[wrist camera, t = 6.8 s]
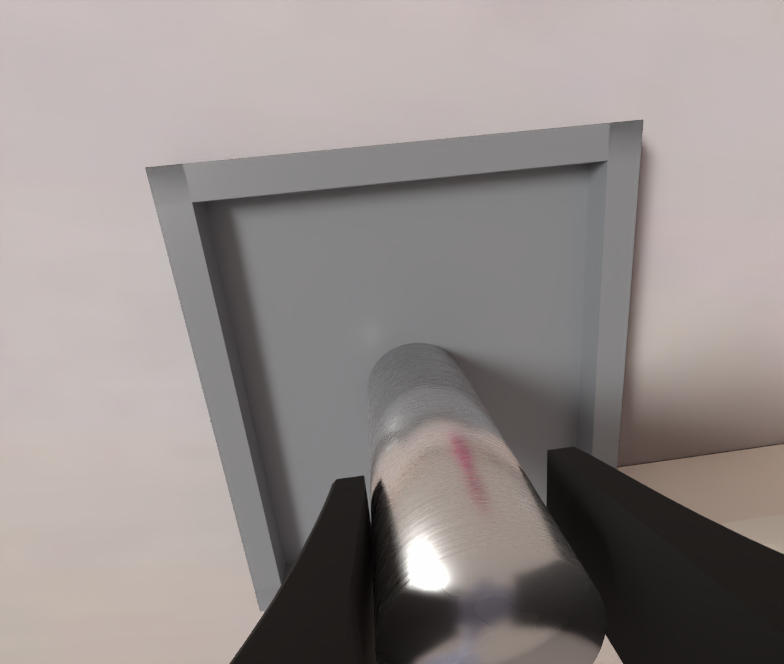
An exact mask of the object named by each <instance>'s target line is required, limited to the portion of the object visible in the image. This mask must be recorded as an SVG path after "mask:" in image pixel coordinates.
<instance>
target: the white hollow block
mask: <svg viewBox="0 0 784 664" xmlns="http://www.w3.org/2000/svg"><path fill="white" fill-rule="evenodd" d="M617 470H619V471H621V472H622V473H624V474H626V475H628V476H630V477H631V478H633V479H635V480H637V481H638V482H640V483H642V484H644V485H646V486H648V487H649V488H651V489H653V490H655V491H657V492H659V493H660V494H662V495H664V496H666V497H668V498H670V499H672V500H673V501H675V502H677V503H679V504H681V505H683V506H685V507H687V508H689V509H691V510H692V511H694V512H696V513H698V514H700V515H702V516H704V517H706V518H708V519H710V520H712V521H714V522H716V523H718V524H720V525H722V526H725V527H727V528H729V529H731V530H733V531H735V532H737V533H739V534H741V535H743V536H745V537H747V538H749V539H751V540H754V541H756V542H758V543H760V544H762V545H764V546H767V547H769V548H771V549H773V550H776V551H778V552H780V553H783V554H784V444H781V445H774V446H767V447H760V448H753V449H746V450H739V451H732V452H725V453H718V454H711V455H703V456H696V457H689V458H682V459H675V460H668V461H661V462H654V463H647V464H640V465H633V466H626V467H619V468H617Z"/></svg>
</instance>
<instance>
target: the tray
mask: <svg viewBox="0 0 784 664" xmlns="http://www.w3.org/2000/svg"><path fill="white" fill-rule="evenodd" d="M642 130H643V120H634V121H624V122H614V123H603V124H593V125H582V126H572V127H562V128H551V129H541V130H530V131H520V132H510V133H499V134H489V135H478V136H468V137H457V138H447V139H437V140H426V141H416V142H405V143H395V144H385V145H374V146H364V147H353V148H343V149H333V150H322V151H312V152H301V153H291V154H281V155H270V156H260V157H249V158H239V159H229V160H218V161H208V162H197V163H187V164H177V165H166V166H156V167H145V169H146V172H147V176H148V180H149V184H150V188H151V192H152V196H153V199H154V203H155V207H156V211H157V215H158V219H159V223H160V226H161V230H162V234H163V238H164V242H165V246H166V250H167V253H168V257H169V261H170V265H171V269H172V273H173V277H174V280H175V284H176V288H177V292H178V296H179V300H180V304H181V308H182V311H183V315H184V319H185V323H186V327H187V331H188V335H189V338H190V342H191V346H192V350H193V354H194V358H195V362H196V365H197V369H198V373H199V377H200V381H201V385H202V389H203V392H204V396H205V400H206V404H207V408H208V412H209V416H210V420H211V423H212V427H213V431H214V435H215V439H216V443H217V447H218V450H219V454H220V458H221V462H222V466H223V470H224V474H225V477H226V481H227V485H228V489H229V493H230V497H231V501H232V504H233V508H234V512H235V516H236V520H237V524H238V528H239V532H240V535H241V539H242V543H243V547H244V551H245V555H246V559H247V562H248V566H249V570H250V574H251V578H252V582H253V586H254V589H255V593H256V597H257V601H258V605H259V609H260V611H266V610H267V608H268V606H269V605H270V603H271V602H272V600H273V598H274V597H275V595H276V593H277V592H278V590H279V588H280V587H281V585H282V583H283V582H284V580H285V578H286V577H287V575H288V573H289V572H290V570H291V568H292V566H293V565H294V563H295V561H296V559H297V558H298V556H299V554H300V552H301V550H302V548H303V546H304V544H305V542H306V540H307V538H308V537H309V535H310V533H311V531H312V529H313V527H314V525H315V523H316V521H317V519H318V516H319V514H320V512H321V510H322V508H323V506H324V503H325V501H326V498H327V496H328V494H329V491H330V488H331V486H332V484H333V483H334V481H335V480H336V479H341V478H348V477H356V476H363V475H364V477H365V484H366V492H367V499H368V506H369V513H370V520H371V501H370V469H369V438H368V406H367V384H368V379H369V376H370V373H371V371H372V369H373V367H374V366H375V364H376V363H377V362H378V360H379V359H380V358H381V357H382V356H383V355H385V354H386V353H387V352H389V351H390V350H392V349H394V348H396V347H398V346H401V345H404V344H409V343H426V344H431V345H434V346H437V347H439V348H441V349H443V350H445V351H446V352H447V353H449V354H450V355H451V356H452V357H453V358H454V359H455V361H456V362H457V364H458V365H459V367H460V368H461V370H462V372H463V373H464V375H465V376H466V378H467V380H468V381H469V383H470V385H471V386H472V388H473V389H474V391H475V393H476V394H477V396H478V398H479V399H480V401H481V402H482V404H483V406H484V407H485V409H486V410H487V412H488V414H489V415H490V417H491V419H492V420H493V422H494V423H495V425H496V427H497V428H498V430H499V432H500V433H501V435H502V436H503V438H504V440H505V441H506V443H507V444H508V446H509V448H510V449H511V451H512V453H513V454H514V456H515V457H516V459H517V461H518V462H519V464H520V466H521V467H522V469H523V470H524V472H525V474H526V475H527V477H528V479H529V480H530V482H531V483H532V485H533V487H534V488H535V490H536V491H537V493H538V495H539V496H540V498H541V500H542V501H543V503H544V504H545V506H546V502H547V450H551V449H559V448H566V447H573V446H574V447H576V448H578V449H580V450H582V451H584V452H586V453H588V454H590V455H592V456H594V457H595V458H597V459H599V460H601V461H603V462H605V463H606V464H608V465H610V466H612V467H613V468H615V469H617V464H618V451H619V437H620V424H621V411H622V397H623V384H624V371H625V357H626V344H627V331H628V317H629V304H630V291H631V277H632V264H633V251H634V237H635V224H636V211H637V197H638V184H639V171H640V157H641V144H642Z"/></svg>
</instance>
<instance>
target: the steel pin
mask: <svg viewBox="0 0 784 664" xmlns="http://www.w3.org/2000/svg"><path fill="white" fill-rule="evenodd" d="M367 406H368V438H369V469H370V501H371V533H372V565H373V596H374V628H375V654H376V663H377V664H593V662H594V661H595V659H596V657H597V655H598V653H599V651H600V649H601V647H602V643H603V640H604V637H605V630H606V613H605V608H604V603H603V601H602V599H601V596H600V594H599V592H598V590H597V589H596V587H595V585H594V584H593V582H592V581H591V579H590V577H589V576H588V574H587V572H586V571H585V569H584V568H583V566H582V564H581V563H580V561H579V560H578V558H577V556H576V555H575V553H574V551H573V550H572V548H571V547H570V545H569V543H568V542H567V540H566V538H565V537H564V535H563V534H562V532H561V530H560V529H559V527H558V526H557V524H556V522H555V521H554V519H553V517H552V516H551V514H550V513H549V511H548V509H547V508H546V506H545V504H544V503H543V501H542V500H541V498H540V496H539V495H538V493H537V491H536V490H535V488H534V487H533V485H532V483H531V482H530V480H529V479H528V477H527V475H526V474H525V472H524V470H523V469H522V467H521V466H520V464H519V462H518V461H517V459H516V457H515V456H514V454H513V453H512V451H511V449H510V448H509V446H508V444H507V443H506V441H505V440H504V438H503V436H502V435H501V433H500V432H499V430H498V428H497V427H496V425H495V423H494V422H493V420H492V419H491V417H490V415H489V414H488V412H487V410H486V409H485V407H484V406H483V404H482V402H481V401H480V399H479V398H478V396H477V394H476V393H475V391H474V389H473V388H472V386H471V385H470V383H469V381H468V380H467V378H466V376H465V375H464V373H463V372H462V370H461V368H460V367H459V365H458V364H457V362H456V361H455V359H454V358H453V357H452V356H451V355H450V354H449V353H447V352H446V351H445V350H443V349H441V348H439V347H437V346H434V345H431V344H426V343H409V344H404V345H401V346H398V347H396V348H394V349H392V350H390V351H389V352H387V353H386V354H385V355H383V356H382V357H381V358H380V359H379V360H378V362H377V363H376V364H375V366H374V367H373V369H372V371H371V373H370V376H369V379H368V384H367Z"/></svg>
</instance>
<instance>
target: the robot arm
mask: <svg viewBox="0 0 784 664" xmlns="http://www.w3.org/2000/svg"><path fill="white" fill-rule="evenodd" d="M546 508H547V509H548V511H549V513H550V514H551V516H552V517H553V519H554V521H555V522H556V524H557V526H558V527H559V529H560V530H561V532H562V534H563V535H564V537H565V538H566V540H567V542H568V543H569V545H570V547H571V548H572V550H573V551H574V553H575V555H576V556H577V558H578V560H579V561H580V563H581V564H582V566H583V568H584V569H585V571H586V572H587V574H588V576H589V577H590V579H591V581H592V582H593V584H594V585H595V587H596V589H597V590H598V592H599V594H600V596H601V599H602V601H603V603H604V608H605V613H606V630H605V634H606V636H607V638H608V639H609V641H610V643H611V644H612V646H613V647H614V649H615V651H616V652H617V654H618V656H619V657H620V659H621V661H622V662H623V664H784V554H783V553H780V552H778V551H776V550H773V549H771V548H769V547H767V546H764V545H762V544H760V543H758V542H756V541H754V540H751V539H749V538H747V537H745V536H743V535H741V534H739V533H737V532H735V531H733V530H731V529H729V528H727V527H725V526H722V525H720V524H718V523H716V522H714V521H712V520H710V519H708V518H706V517H704V516H702V515H700V514H698V513H696V512H694V511H692V510H691V509H689V508H687V507H685V506H683V505H681V504H679V503H677V502H675V501H673V500H672V499H670V498H668V497H666V496H664V495H662V494H660V493H659V492H657V491H655V490H653V489H651V488H649V487H648V486H646V485H644V484H642V483H640V482H638V481H637V480H635V479H633V478H631V477H630V476H628V475H626V474H624V473H622V472H621V471H619V470H617V469H615V468H613V467H612V466H610V465H608V464H606V463H605V462H603V461H601V460H599V459H597V458H595V457H594V456H592V455H590V454H588V453H586V452H584V451H582V450H580V449H578V448H576V447H574V446H573V447H566V448H559V449H551V450H547V502H546ZM230 664H377V663H376V654H375V628H374V596H373V565H372V533H371V520H370V513H369V506H368V499H367V492H366V484H365V477H364V475H363V476H356V477H348V478H341V479H336V480H335V481H334V483H333V484H332V486H331V488H330V491H329V494H328V496H327V498H326V501H325V503H324V506H323V508H322V510H321V512H320V514H319V516H318V519H317V521H316V523H315V525H314V527H313V529H312V531H311V533H310V535H309V537H308V538H307V540H306V542H305V544H304V546H303V548H302V550H301V552H300V554H299V556H298V558H297V559H296V561H295V563H294V565H293V566H292V568H291V570H290V572H289V573H288V575H287V577H286V578H285V580H284V582H283V583H282V585H281V587H280V588H279V590H278V592H277V593H276V595H275V597H274V598H273V600H272V602H271V603H270V605H269V606H268V608H267V610H266V611H265V613H264V614H263V616H262V617H261V619H260V620H259V622H258V623H257V625H256V626H255V628H254V629H253V631H252V632H251V634H250V635H249V637H248V638H247V640H246V641H245V643H244V644H243V645H242V647H241V648H240V650H239V651H238V653H237V654H236V655H235V657H234V658H233V660H232V661H231V662H230Z"/></svg>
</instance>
